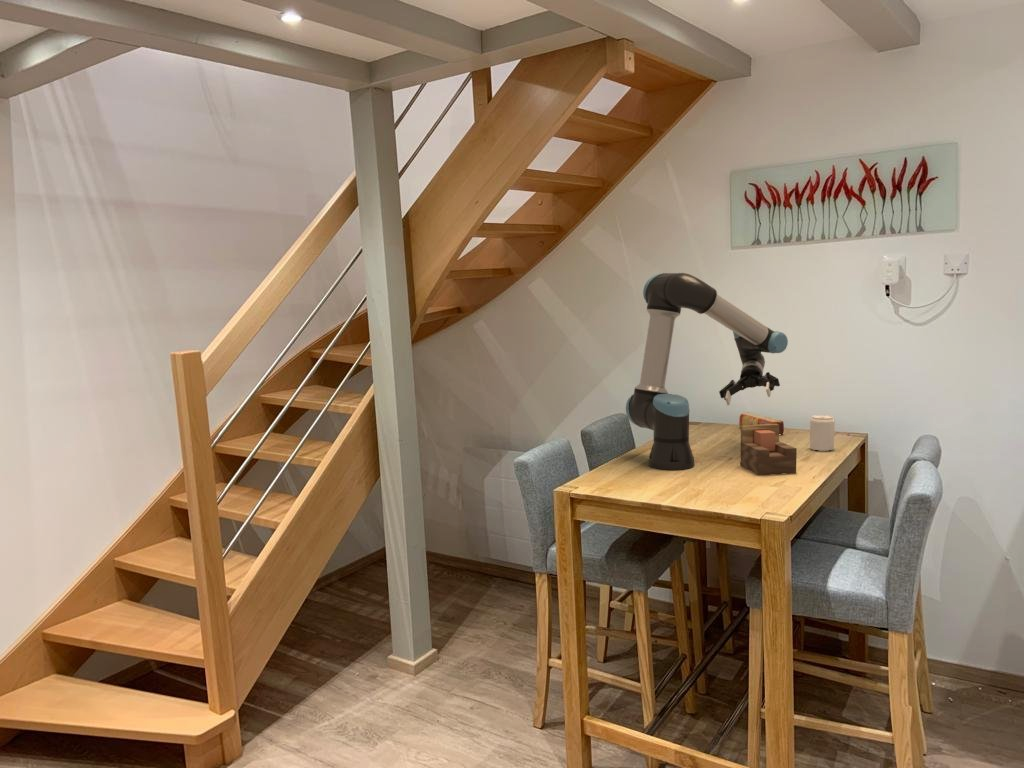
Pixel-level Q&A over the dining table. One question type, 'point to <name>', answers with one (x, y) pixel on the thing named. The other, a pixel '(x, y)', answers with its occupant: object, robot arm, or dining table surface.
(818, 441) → the beverage can
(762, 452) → the guide block
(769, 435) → the peg
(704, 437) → the dining table surface
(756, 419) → the snack package
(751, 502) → the dining table surface
